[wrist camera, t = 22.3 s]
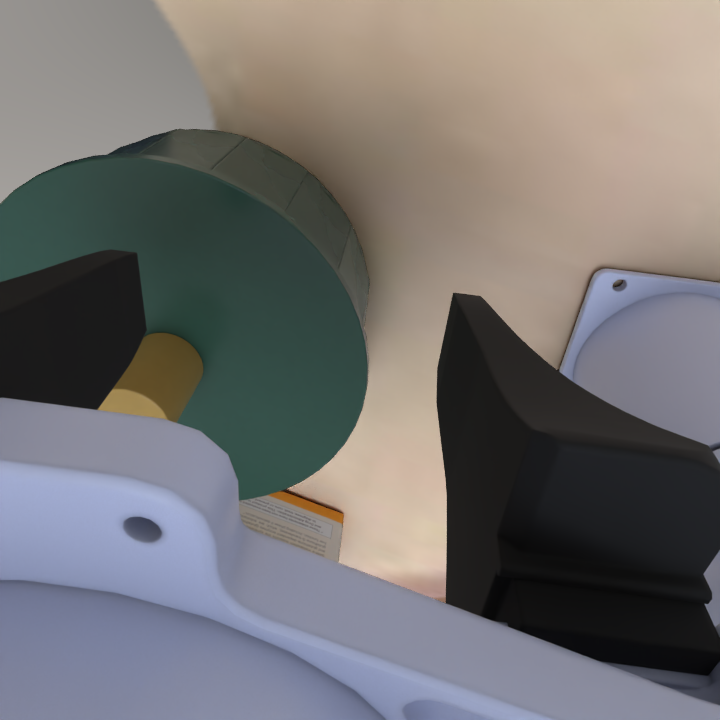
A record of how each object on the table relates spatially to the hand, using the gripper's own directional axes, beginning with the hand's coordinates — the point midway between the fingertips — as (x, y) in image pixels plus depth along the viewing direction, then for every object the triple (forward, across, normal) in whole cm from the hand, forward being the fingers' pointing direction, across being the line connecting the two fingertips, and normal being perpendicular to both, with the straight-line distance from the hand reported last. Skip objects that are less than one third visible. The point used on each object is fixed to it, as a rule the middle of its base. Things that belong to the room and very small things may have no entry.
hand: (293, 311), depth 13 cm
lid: (+5, +5, +5) cm, 9 cm away
